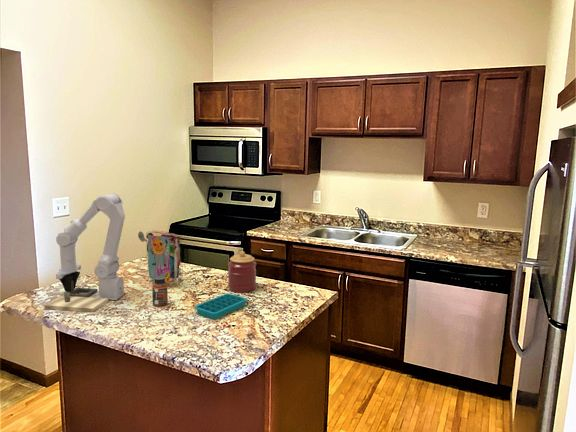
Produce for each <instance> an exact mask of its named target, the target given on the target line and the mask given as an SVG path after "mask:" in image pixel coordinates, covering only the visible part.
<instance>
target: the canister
mask: <svg viewBox="0 0 576 432" xmlns="http://www.w3.org/2000/svg"><path fill="white" fill-rule="evenodd" d="M227 266H228V270H227V271H228V272H227V275H228V278H227V280H228V281H227V287H228V290H229V291H231V292H235V293H249V292H253V291H254V290H256V287H257V269H256V266H257V262H256V261H255V257H254V256H252V255H251V254H246V252H245V251H243V250H242V251H239V253H238V254H234V255H232V256H231V257H230V258H229V262H228V264H227Z"/></svg>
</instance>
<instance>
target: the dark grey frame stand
mask: <svg viewBox="0 0 576 432" xmlns="http://www.w3.org/2000/svg"><path fill="white" fill-rule="evenodd" d="M81 293H84V294H81ZM97 293H99V290H98V288H92V287H91V288H90V287H89V288H88V287H75V289H74V282H73V280H72V281H71V291H70V296H75V297H92V296H94V295H95V294H97Z"/></svg>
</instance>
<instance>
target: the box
mask: <svg viewBox="0 0 576 432" xmlns="http://www.w3.org/2000/svg"><path fill="white" fill-rule="evenodd" d="M137 236H138V239H139V240H140V242H142V243H143V242H146V256H147V261H146V262H147V269H148V277H147V279H148V282H150V283H151V281H153V282H155V278H156V277H165V282H166V283H170V281H171V282H172V284H173V285H172V286H175V285H177V282H178V283H181V282H183V278H182V277H184V276H183V274H184V272H183V265H182V262H183V257H182V255H183V254H181V253H183V252H182V239H181V235H180V234H178V235H177V236H176V233H173V232H168V231H165V232H164V231H162V230H161V231H158V230H152V231H148V232H146V235H144V232H142V231H139V232H138V233H137ZM145 237H146V238H145ZM170 253H171V254H172V255H171V254H170ZM180 266H181V267H180ZM180 271H181V272H180ZM179 276H181V277H179ZM150 279H151V280H150ZM171 279H172V280H171ZM175 282H176V283H175ZM180 286H181V284H178V287H180ZM168 287H170V286H168V285H167V288H168Z"/></svg>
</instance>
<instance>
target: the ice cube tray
mask: <svg viewBox="0 0 576 432" xmlns="http://www.w3.org/2000/svg"><path fill="white" fill-rule="evenodd" d="M247 300H248V298H247V297H243V296H239V295H237V294H233V293H224V294H221V295H219V296H216V297H214V298H212V299H208V300H207V301H204V302H202V303H200V304H197V305H195V306H194V307H193V308H194V309H196V314H197V315H200V316H204V317H206V318H208V319H209V318H210V319H212V320H216V319H218V318H221V317H223V316H225V315H228V314H230V313H231V312H233V311H237V310H238V309H240V308H243V307H244V306H245V303H246V302H247Z"/></svg>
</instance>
